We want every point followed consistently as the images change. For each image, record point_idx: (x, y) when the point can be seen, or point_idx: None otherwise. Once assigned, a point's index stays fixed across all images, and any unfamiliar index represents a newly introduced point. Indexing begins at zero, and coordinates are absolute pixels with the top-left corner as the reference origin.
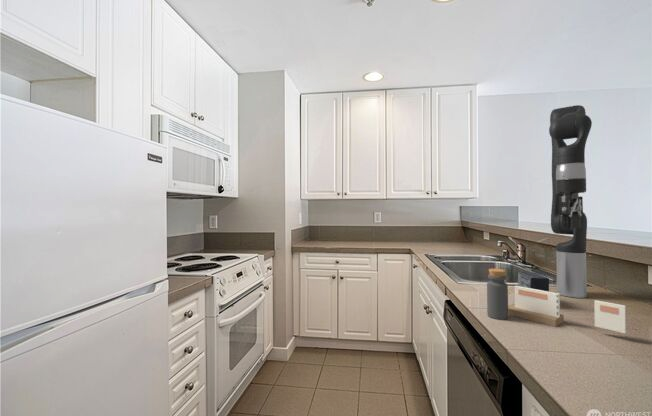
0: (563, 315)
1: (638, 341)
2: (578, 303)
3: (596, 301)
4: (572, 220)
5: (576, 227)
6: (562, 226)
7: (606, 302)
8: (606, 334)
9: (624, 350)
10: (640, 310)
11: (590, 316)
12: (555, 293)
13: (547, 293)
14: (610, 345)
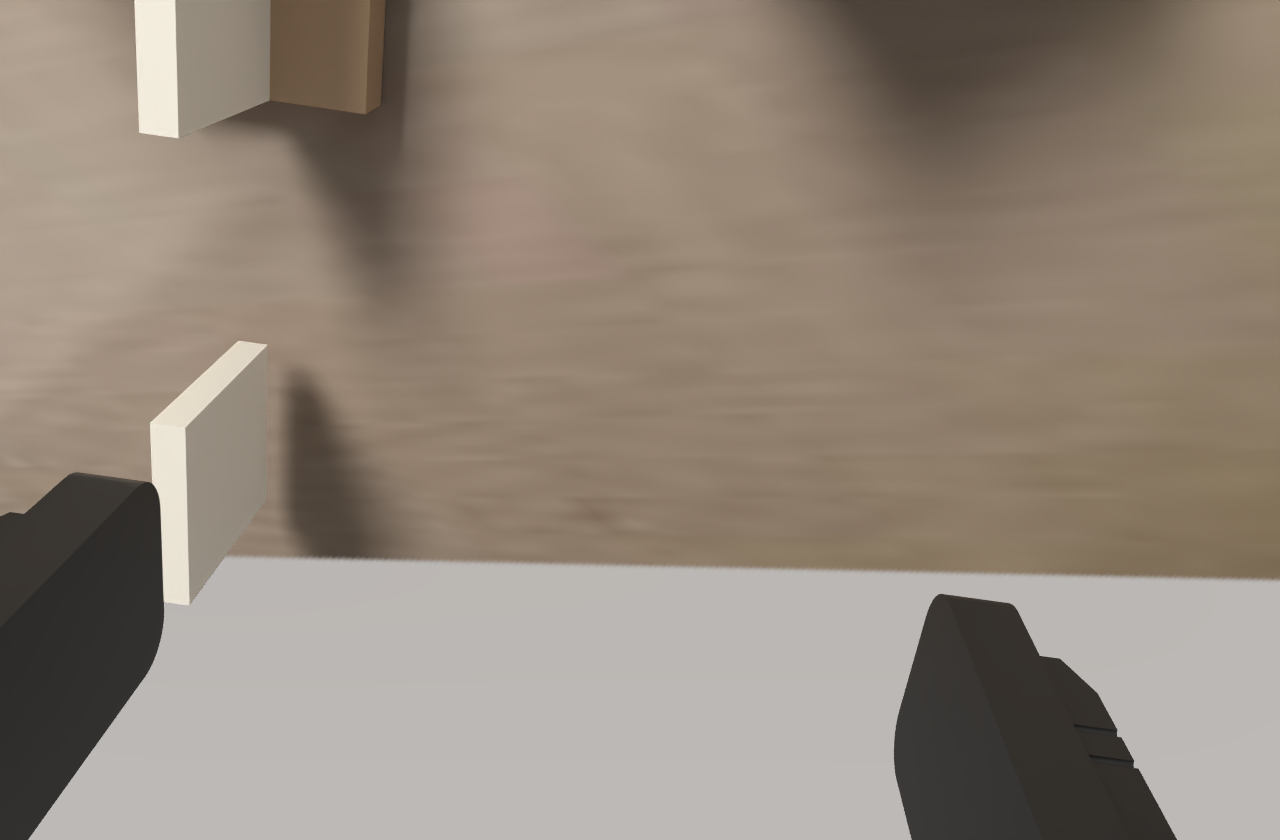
0: (366, 112)
1: (323, 527)
2: (1161, 127)
3: (152, 436)
4: (985, 763)
5: (912, 691)
6: (49, 497)
7: (175, 499)
8: (307, 380)
9: (72, 470)
10: (1213, 547)
11: (720, 260)
12: (146, 102)
13: (143, 18)
14: (92, 409)
